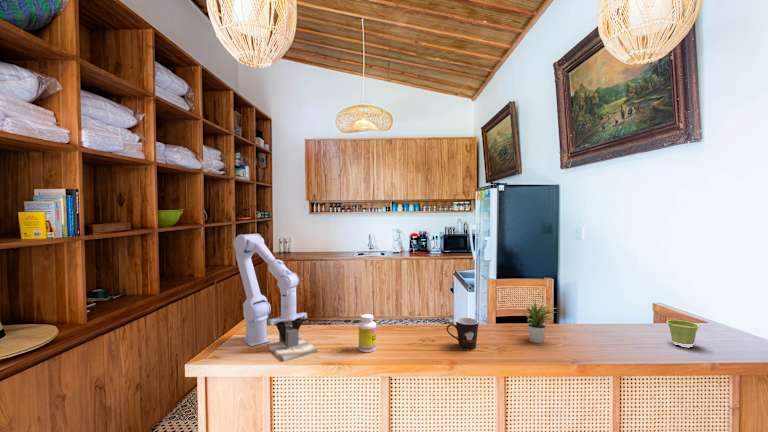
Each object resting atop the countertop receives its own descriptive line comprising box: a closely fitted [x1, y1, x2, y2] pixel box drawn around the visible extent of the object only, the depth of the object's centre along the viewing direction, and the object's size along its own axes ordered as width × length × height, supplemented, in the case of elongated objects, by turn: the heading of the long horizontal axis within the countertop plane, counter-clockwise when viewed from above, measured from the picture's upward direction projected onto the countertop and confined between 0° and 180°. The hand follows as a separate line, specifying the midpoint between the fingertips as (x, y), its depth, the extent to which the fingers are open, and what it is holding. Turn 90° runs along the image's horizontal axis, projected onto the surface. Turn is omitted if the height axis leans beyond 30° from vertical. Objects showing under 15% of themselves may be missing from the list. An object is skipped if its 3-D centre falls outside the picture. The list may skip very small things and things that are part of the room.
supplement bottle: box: [358, 313, 377, 353], centre depth 129 cm, size 7×7×13 cm
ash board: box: [267, 336, 318, 362], centre depth 130 cm, size 16×13×1 cm
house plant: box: [521, 299, 558, 344], centre depth 136 cm, size 14×14×16 cm
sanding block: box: [278, 324, 299, 349], centre depth 132 cm, size 9×4×6 cm, turn 38°
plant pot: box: [666, 319, 700, 344], centre depth 131 cm, size 9×9×9 cm
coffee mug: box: [446, 317, 480, 351], centre depth 132 cm, size 12×9×10 cm
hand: (288, 339), depth 132 cm, fingers closed on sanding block, 4 cm apart
